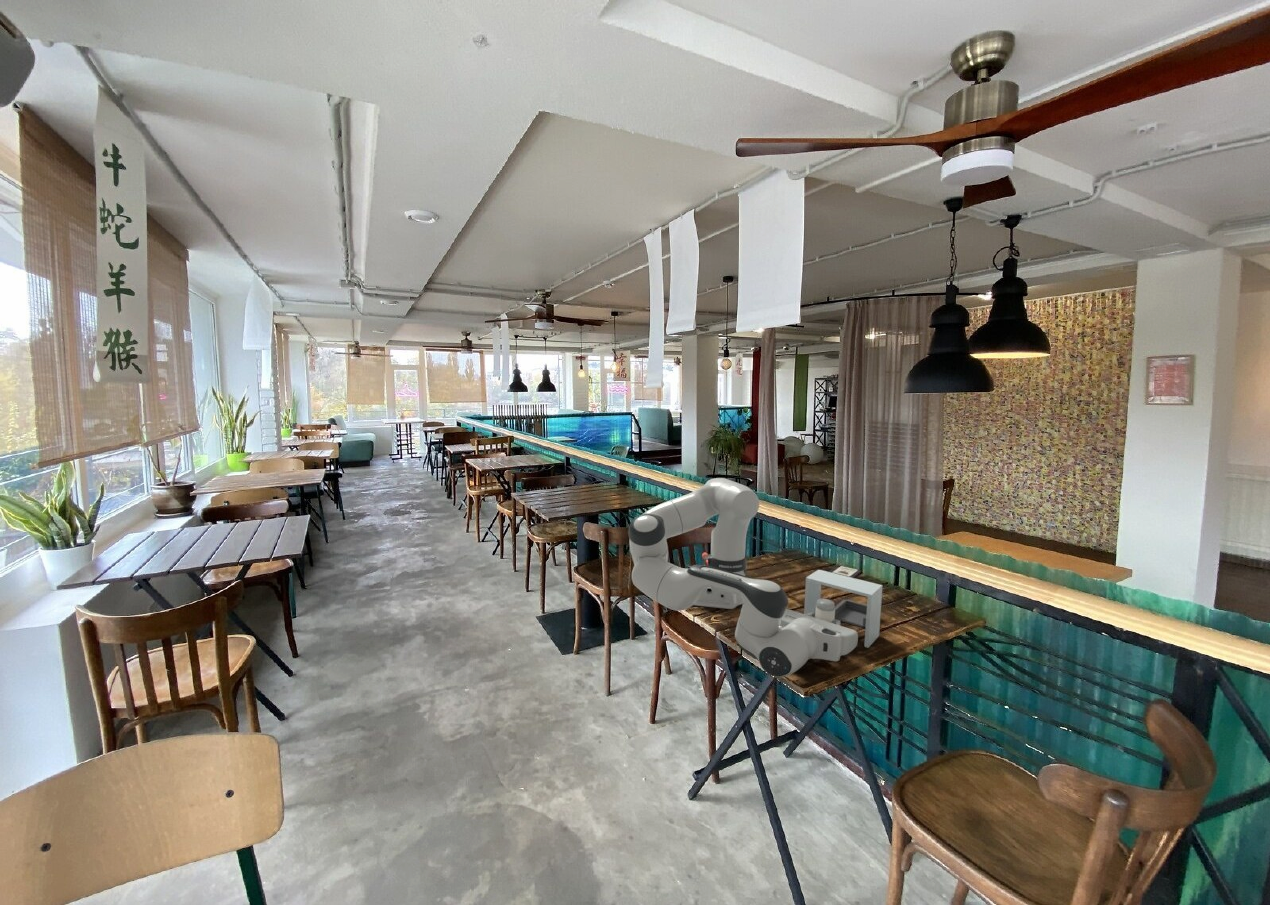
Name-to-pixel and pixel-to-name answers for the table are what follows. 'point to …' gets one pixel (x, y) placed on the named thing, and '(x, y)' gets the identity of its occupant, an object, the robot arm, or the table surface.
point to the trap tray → (851, 613)
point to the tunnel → (849, 585)
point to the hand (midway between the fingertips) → (826, 619)
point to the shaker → (825, 610)
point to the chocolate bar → (845, 571)
